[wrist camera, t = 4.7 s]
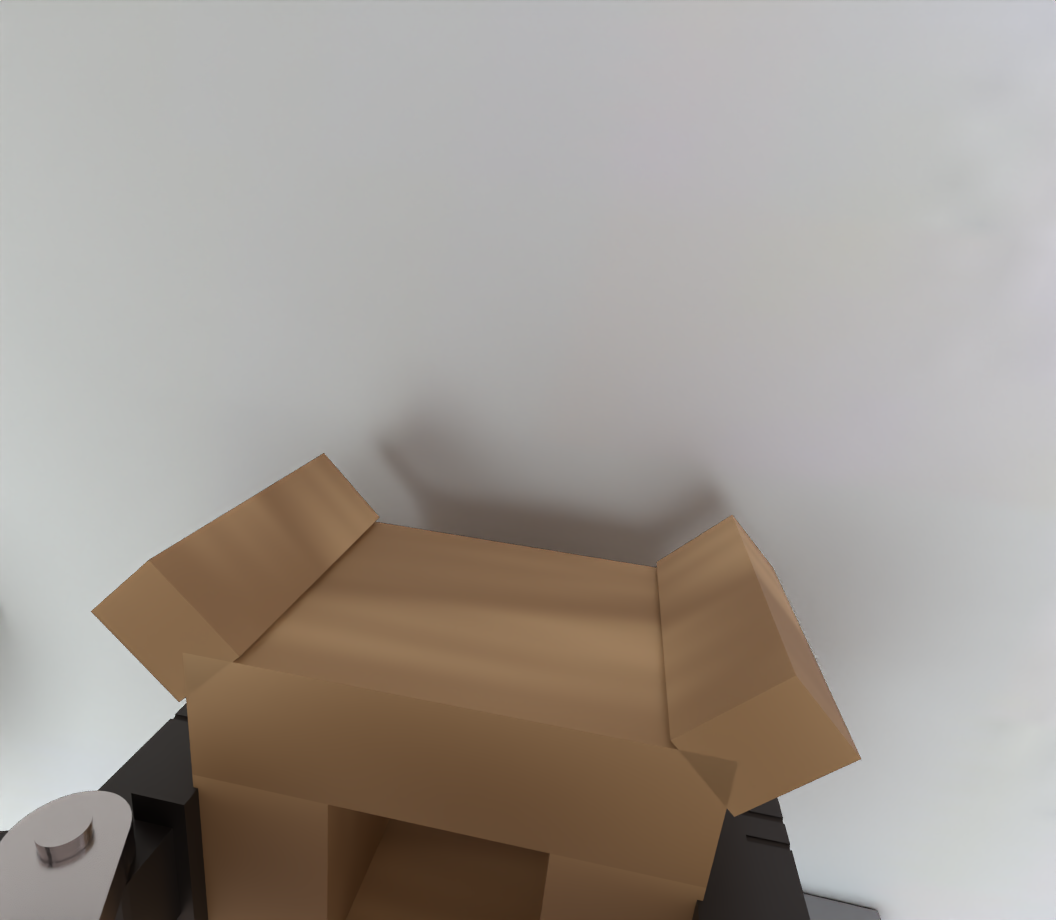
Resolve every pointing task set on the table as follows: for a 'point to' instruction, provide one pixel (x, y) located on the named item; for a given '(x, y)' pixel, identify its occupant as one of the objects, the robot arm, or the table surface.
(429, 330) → the table surface
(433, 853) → the oak gear
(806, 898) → the gear board
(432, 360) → the table surface
